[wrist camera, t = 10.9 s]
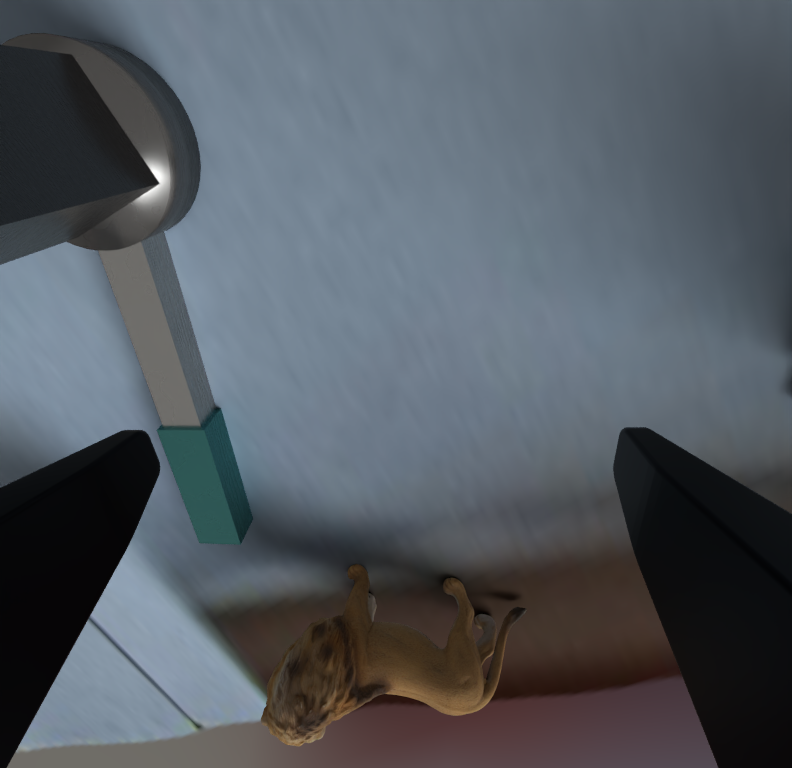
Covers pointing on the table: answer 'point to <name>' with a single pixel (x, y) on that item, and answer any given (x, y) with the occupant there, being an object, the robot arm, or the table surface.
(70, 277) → the table surface
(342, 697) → the lion figurine
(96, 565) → the robot arm
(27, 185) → the charcoal square pillar
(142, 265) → the ratchet
